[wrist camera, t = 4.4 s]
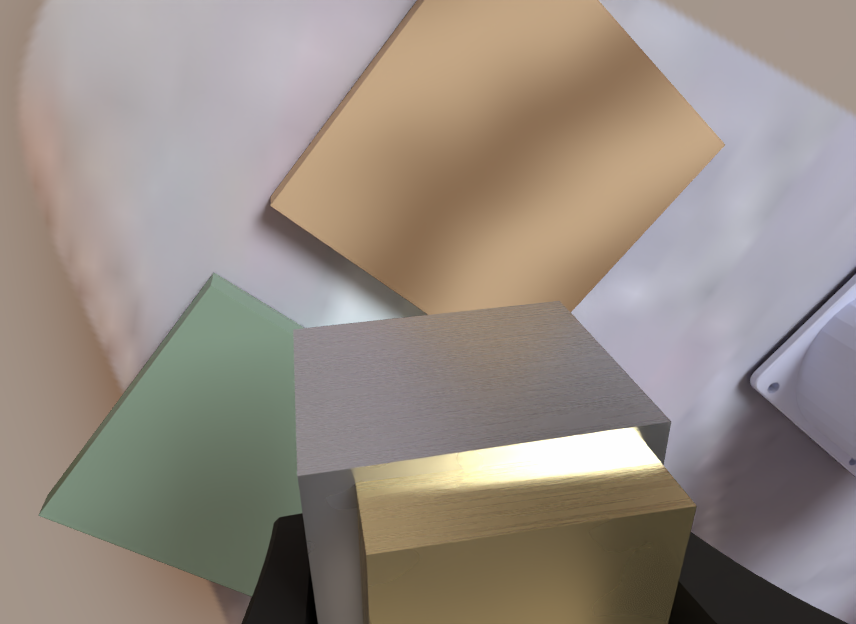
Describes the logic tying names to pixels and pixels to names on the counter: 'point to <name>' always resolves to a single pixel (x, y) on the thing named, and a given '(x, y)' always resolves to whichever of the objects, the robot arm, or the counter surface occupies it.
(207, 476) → the stand
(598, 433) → the base
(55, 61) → the counter surface
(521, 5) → the stand
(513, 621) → the cover
